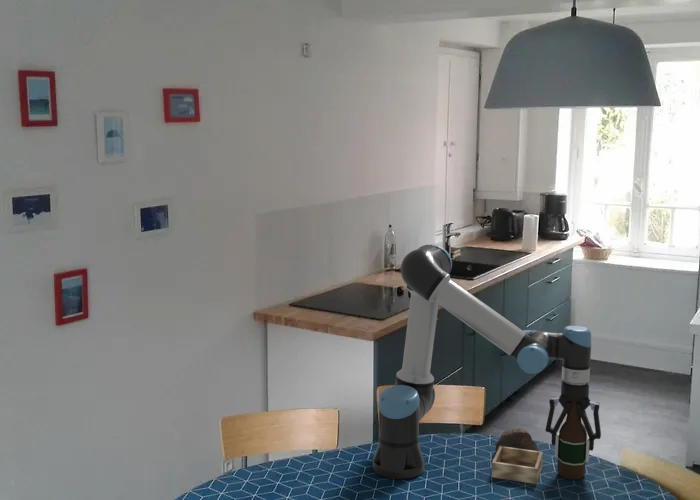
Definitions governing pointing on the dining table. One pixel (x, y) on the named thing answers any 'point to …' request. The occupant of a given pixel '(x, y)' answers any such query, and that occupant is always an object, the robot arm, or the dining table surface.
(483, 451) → the dining table surface
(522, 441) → the rock
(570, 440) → the beer bottle
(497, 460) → the caddy
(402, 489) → the dining table surface
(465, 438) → the dining table surface
